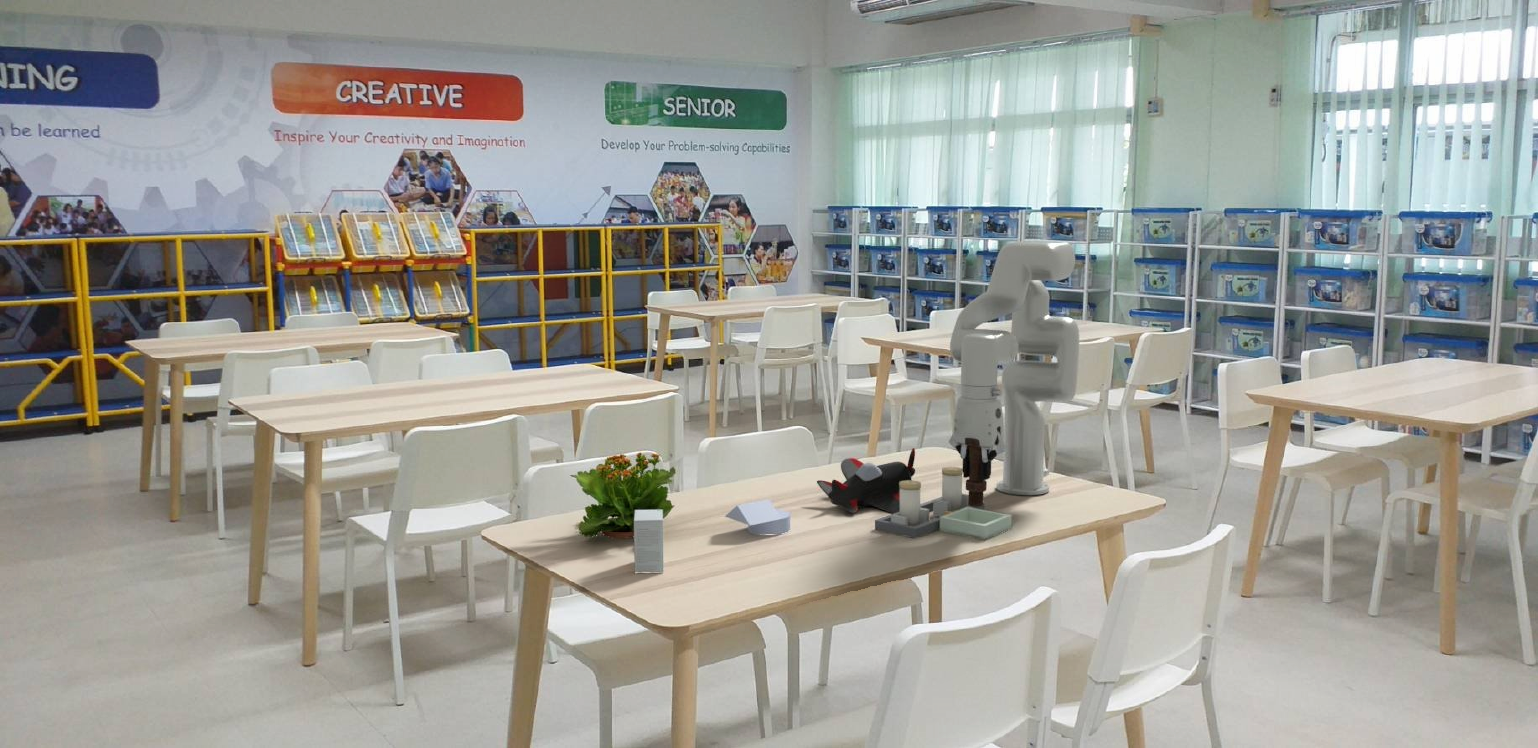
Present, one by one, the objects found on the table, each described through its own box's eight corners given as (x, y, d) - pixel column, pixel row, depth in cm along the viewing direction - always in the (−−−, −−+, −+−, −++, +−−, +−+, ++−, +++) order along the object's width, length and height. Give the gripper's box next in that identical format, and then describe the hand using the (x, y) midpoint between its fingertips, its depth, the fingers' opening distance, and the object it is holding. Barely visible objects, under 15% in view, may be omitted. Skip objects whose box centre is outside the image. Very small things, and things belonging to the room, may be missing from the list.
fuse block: (874, 529, 252) (875, 513, 252) (945, 503, 273) (945, 489, 273) (917, 538, 245) (917, 522, 245) (986, 511, 266) (986, 496, 266)
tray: (966, 520, 259) (966, 506, 259) (1011, 529, 252) (1011, 515, 252) (939, 530, 251) (939, 517, 250) (984, 540, 244) (985, 526, 243)
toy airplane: (800, 500, 282) (798, 447, 275) (881, 469, 292) (880, 418, 285) (865, 559, 261) (864, 503, 254) (949, 524, 271) (951, 469, 264)
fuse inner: (948, 508, 269) (948, 465, 267) (965, 511, 266) (966, 468, 264) (937, 512, 265) (938, 469, 264) (955, 516, 262) (955, 472, 261)
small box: (635, 561, 230) (634, 509, 229) (663, 560, 231) (663, 508, 229) (634, 574, 222) (633, 520, 221) (663, 573, 223) (662, 519, 221)
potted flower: (559, 522, 259) (556, 444, 256) (663, 511, 267) (661, 436, 264) (583, 553, 235) (581, 468, 233) (696, 541, 244) (695, 458, 241)
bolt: (987, 509, 247) (989, 439, 245) (963, 508, 248) (964, 438, 246) (987, 503, 253) (989, 434, 251) (964, 502, 254) (965, 433, 252)
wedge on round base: (750, 541, 244) (798, 530, 252) (750, 509, 243) (798, 499, 251) (724, 531, 251) (772, 521, 259) (724, 501, 250) (772, 491, 258)
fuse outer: (906, 524, 256) (907, 479, 255) (924, 527, 253) (925, 482, 252) (894, 528, 253) (895, 483, 251) (912, 532, 250) (913, 486, 248)
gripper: (1022, 394, 245) (1019, 480, 247) (954, 386, 255) (952, 469, 258) (1004, 398, 239) (1001, 487, 242) (935, 390, 250) (933, 475, 252)
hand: (976, 477), depth 250 cm, fingers closed on bolt, 3 cm apart
